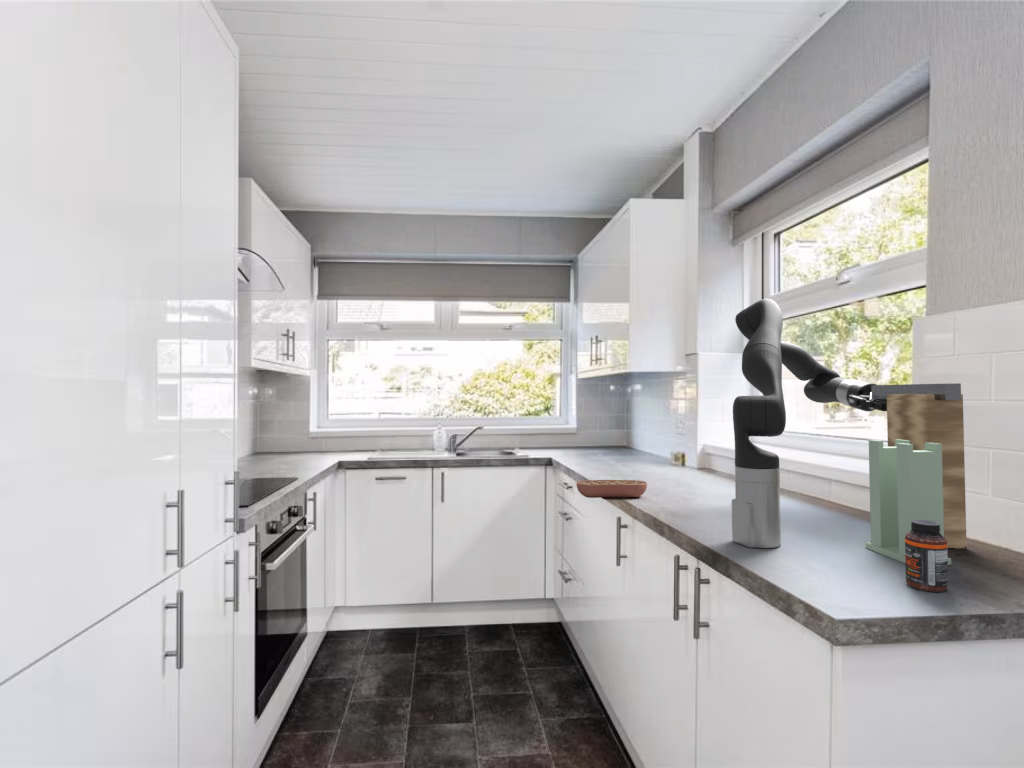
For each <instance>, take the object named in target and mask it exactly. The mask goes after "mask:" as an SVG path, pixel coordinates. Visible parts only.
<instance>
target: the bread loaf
mask: <svg viewBox="0 0 1024 768" xmlns="http://www.w3.org/2000/svg"><path fill="white" fill-rule="evenodd" d="M576 488H577V491H578V492H579V494H581V496H582V497H583V496H584V497H585V498H588V499H589V498H590V499H597V498H599V499H600V498H622V497H636V498H639V497H642V495H644V494H645V492H646V491H647V489H648V482H646V481H643V480H636V479H634V480H633V479H632V480H631V479H594V480H589V479H588V480H586V479H585V480H579V481H576Z"/></svg>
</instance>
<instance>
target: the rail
mask: <svg viewBox="0 0 1024 768" xmlns="http://www.w3.org/2000/svg"><path fill="white" fill-rule="evenodd" d="M961 384H962V383H961V382H960V383H922V384H921V383H918V384H917V383H915V384H914V383H913V384H911V383H910V384H876V385H871V390H872V397H873V398H875V399H887V395H888V394H934V396H935V400H961V394H962V385H961Z"/></svg>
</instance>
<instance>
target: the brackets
mask: <svg viewBox="0 0 1024 768" xmlns="http://www.w3.org/2000/svg"><path fill="white" fill-rule="evenodd" d="M868 475H869V476H868V477H869V513H870V516H869V517H870V518H869V519H870V521H869V522H870V541H868V542H867V541H865V546H864V547H865V549H867V548H868V550H871V551H872V550H873V552H874V553H875V552H876V553H878V554H880V555H883V556H885V557H888V558H891V559H893V560H896V561H899V562H900V563H903V564H905V535H906V533H908V532H910V531H911V529H912V528H911V521H912V520H929V521H934V522H937V523H939V524H940V531H939V532H940V534H941V535H942V536H944V514H943V472H942V444H938V443H925V450H913V444H910V441H909V440H900V439H895V446H890V447H888V446H884V441H883V440H878V439H869V440H868ZM951 565H952V558H950V557H948V566H951Z"/></svg>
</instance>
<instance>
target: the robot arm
mask: <svg viewBox="0 0 1024 768" xmlns="http://www.w3.org/2000/svg"><path fill="white" fill-rule="evenodd" d="M783 318H784V317H783V313H782V310H781V308H780V306H779V304H778V303H777V302H776V301H774V299H771V298H767V297H766V298H762V299H759V300H757V301H756V302H755V303H752V304H751V305H749V306H747V307H746V308H744V309H743V310H741V311H739V312H738V313H737V314H736V316H735V318H734V320H735V321H734V322H735V324H736V327H737V329H738V330H739V332H740V333H741V334H742V335H743V336H744V337H745V338H746V339H747V340H748V341H747V343H746V345H745V347H744V348H743V351H742V355H741V372H742V375H743V376H744V378H745V379H746V381H747V382H748V383H749V384H750V385H751V386H753V387H754V388H755V389H756V390H757V391H759V392H760V393H761V394H762V395H739V396H736V397H735V398H734V400H733V403H732V422H733V423H732V424H733V431H734V432H733V434H734V471H735V472H734V478H735V480H734V481H735V482H734V485H735V486H734V489H735V498H732V499H731V534H732V536H731V537H732V540H731V541H732V542H734V543H738V544H740V545H742V546H745V547H747V548H759V549H774V548H777V547H778V548H779V547H780V546H781V545H782V538H781V537H782V536H781V535H782V533H781V532H782V531H781V529H782V528H781V491H780V490H781V487H780V480H781V479H780V458H779V456H778V454H777V453H776V452H775V453H774V452H772V451H769V450H766V449H764V448H763V449H762V448H761V447H759V446H757V445H756V444H754V443H753V442H752V441H751V440H750V437H768V438H769V437H770V438H771V437H778V436H781V435H783V432H784V431H785V429H786V425H787V415H786V414H787V413H786V407H785V399H784V391H783V382H782V381H783V380H782V379H783V376H782V375H783V366H784V367H785V368H786V369H788V371H789V372H790V373H791V374H793V376H794V377H796V378H797V380H799V381H802V382H803V381H805V382H806V381H807V383H805V385H804V387H803V394H804V395H805V397H806V398H807V399H809V400H810V401H812V402H815V403H820V404H827V403H828V404H829V403H839V404H843V405H844V406H847V407H850V408H852V409H853V408H854V409H855V410H856V409H857V410H861V411H864V412H873V411H875V410H878V411H881V412H887V399H875V398H873V397H872V390H871V385H877V384H876V383H872V382H869V381H864V380H859V379H851V378H845V377H841V376H840V374H839V373H838V372H837V371H835V370H833V369H832V368H828V366H827V367H826V366H824V365H822V364H821V363H820V362H819V361H817V360H816V359H815V358H814V357H813V356H812V355H811V354H810V353H809V352H808V351H807V350H806V349H805V348H803V347H801V346H799V345H797V344H794V343H791V342H788V341H783V340H781V339H782V334H783V333H782V331H783V324H784V323H783V322H784V319H783Z"/></svg>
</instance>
